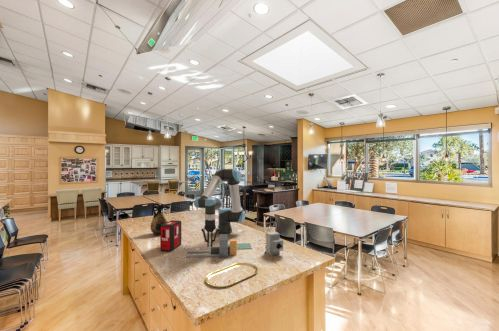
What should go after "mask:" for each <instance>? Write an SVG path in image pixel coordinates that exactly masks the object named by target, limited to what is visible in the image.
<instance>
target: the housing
mask: <svg viewBox="0 0 499 331" xmlns="http://www.w3.org/2000/svg"><path fill="white" fill-rule="evenodd" d="M228 236H229V234H219V240H218V241H219V243H218V247H219V254H211V253H210V252H209V249H204V250H201V249H200V250H199V249H198V250H195V249H194V250H188V251H187V254H186V255H185V258H208V257H209V258H210V257H212V258H213V257H219V258H220V259H227V258H229V257H228V256H229V254H228V244H229V237H228ZM203 253H204V254H203Z"/></svg>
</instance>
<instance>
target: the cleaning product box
mask: <svg viewBox="0 0 499 331" xmlns="http://www.w3.org/2000/svg"><path fill="white" fill-rule="evenodd" d="M159 236H160V237H159V238H160V239H159V240H160V242H159V243H160V247H159V248H160V249H159V250H160V252H162V253H172V252H174V251H175V250H177V249H178V248H179V247H181V246H182V220H169V221H167V223H165V224H162V225H160V235H159Z"/></svg>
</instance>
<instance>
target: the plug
mask: <svg viewBox="0 0 499 331" xmlns="http://www.w3.org/2000/svg"><path fill="white" fill-rule="evenodd" d="M229 244H230V246H228V255H230V256H233V255H235V256H236V255H238V254H237V253H238V252H237V250H238V249H237V248H239V247H238V245H237V244H238V243H237V238H231V239H229ZM210 254H219V246H212V247H211V252H210Z"/></svg>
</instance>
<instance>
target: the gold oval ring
mask: <svg viewBox="0 0 499 331" xmlns="http://www.w3.org/2000/svg"><path fill="white" fill-rule="evenodd" d="M241 266H242V267H243V266H246V267H250V268H252V269H254V273H253V274H250V275H248V276H246V277H244V278H241V279H240V280H237V281H235V282H233V283H230V284H227V285H213V284H210V281H209V280H210V279H211V277H213V276H215V275H216V276H217V275H218V274H222V273H224V272H227V271H228V270H231V269H233V268H235V267H241ZM258 271H259V268H258V266H256V265H255V264H253V263H250V262H249V263H248V262H238V263H233V264H230V265H228V266H226V267H223V268H220V269H218V270H214V271H213V272H210V273H208V274H207V275H206V276H205V279H204V280H205V283H206V284H207V285H209V286H210V287H212V288H218V289H219V288H227V287H228V288H229V287H231V286H233V285H235V284H237V283H240V282H242V281H244V280H247V279H249V278H250V277H251V278H252V277H253V276H254V275H256V274H257V272H258Z"/></svg>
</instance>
